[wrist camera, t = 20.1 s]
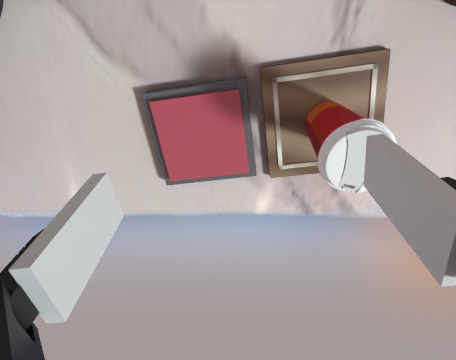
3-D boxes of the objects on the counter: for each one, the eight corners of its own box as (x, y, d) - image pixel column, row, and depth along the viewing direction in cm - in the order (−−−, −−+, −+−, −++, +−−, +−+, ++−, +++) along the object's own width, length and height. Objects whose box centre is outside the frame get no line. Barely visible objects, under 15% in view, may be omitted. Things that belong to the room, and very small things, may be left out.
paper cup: (340, 153, 43) (379, 204, 31) (289, 140, 42) (309, 187, 30) (364, 100, 39) (420, 134, 27) (309, 85, 39) (341, 113, 26)
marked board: (259, 67, 39) (260, 68, 38) (387, 48, 37) (391, 49, 36) (269, 175, 46) (270, 178, 45) (376, 163, 45) (379, 167, 43)
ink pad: (145, 92, 41) (139, 95, 39) (245, 77, 40) (245, 80, 38) (168, 180, 47) (165, 187, 45) (256, 170, 46) (256, 177, 44)
